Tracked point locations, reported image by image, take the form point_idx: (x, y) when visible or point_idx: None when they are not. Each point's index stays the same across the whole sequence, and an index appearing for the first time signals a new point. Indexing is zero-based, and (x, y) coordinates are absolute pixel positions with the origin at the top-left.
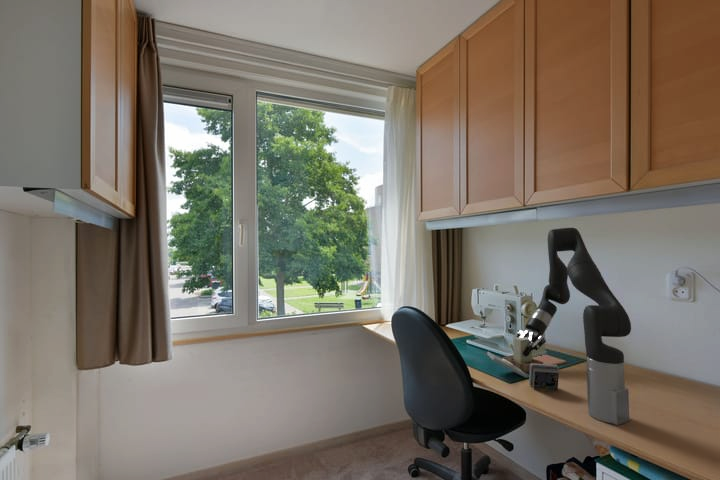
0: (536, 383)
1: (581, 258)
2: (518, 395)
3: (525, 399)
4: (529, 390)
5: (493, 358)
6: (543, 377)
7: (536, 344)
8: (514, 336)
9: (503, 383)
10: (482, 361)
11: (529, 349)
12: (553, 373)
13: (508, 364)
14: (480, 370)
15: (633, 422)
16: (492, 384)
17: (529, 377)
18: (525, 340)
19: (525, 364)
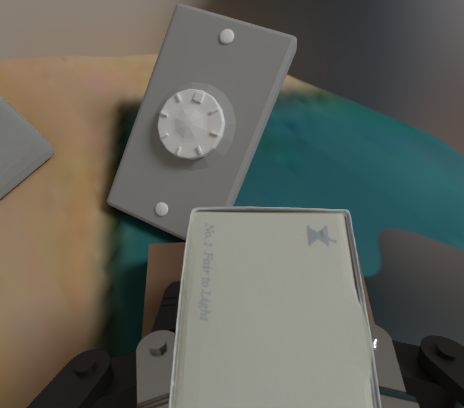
0: (22, 163)
1: None
2: (37, 65)
3: (5, 63)
4: (32, 119)
5: (181, 5)
6: None
7: (34, 404)
8: None
9: (134, 86)
10: (406, 177)
11: (153, 328)
12: None
13: (162, 107)
14: (287, 96)
15: None
16: (149, 54)
17: (23, 117)
18: (180, 303)
19: (167, 262)
